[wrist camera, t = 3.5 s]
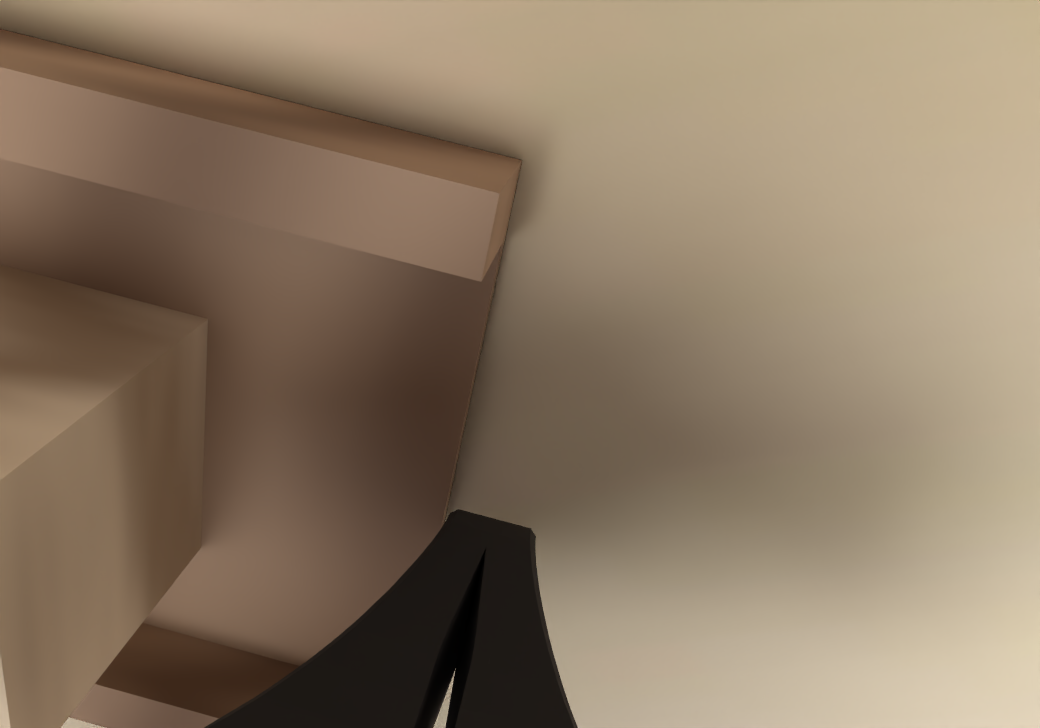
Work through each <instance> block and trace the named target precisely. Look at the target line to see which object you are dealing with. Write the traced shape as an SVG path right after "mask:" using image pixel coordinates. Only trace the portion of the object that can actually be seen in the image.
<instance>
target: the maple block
mask: <svg viewBox="0 0 1040 728" xmlns="http://www.w3.org/2000/svg"><path fill="white" fill-rule="evenodd" d="M207 334H208V319H206V318H202V317H198V316H194V315H191V314H187V313H183V312H179V311H175V310H171V309H168V308H164V307H160V306H156V305H152V304H148V303H145V302H141V301H137V300H133V299H129V298H126V297H122V296H118V295H114V294H110V293H106V292H103V291H99V290H95V289H91V288H87V287H83V286H80V285H76V284H72V283H68V282H64V281H60V280H57V279H53V278H49V277H45V276H41V275H38V274H34V273H30V272H26V271H22V270H18V269H15V268H11V267H7V266H3V265H0V728H61V726H62V725H63V724H64V722H65V721H66V720H67V719H68V717H69V716H70V715H71V714H72V712H73V711H74V710H75V708H76V707H77V706H78V705H79V703H80V702H81V701H82V699H83V698H84V697H85V696H86V694H87V693H88V692H89V690H90V689H91V688H92V687H93V685H94V684H95V683H96V682H97V680H98V679H99V678H100V676H101V675H102V674H103V673H104V671H105V670H106V669H107V667H108V666H109V665H110V664H111V662H112V661H113V660H114V658H115V657H116V656H117V655H118V653H119V652H120V651H121V650H122V648H123V647H124V646H125V644H126V643H127V642H128V641H129V639H130V638H131V637H132V635H133V634H134V633H135V632H136V630H137V629H138V628H139V626H140V625H141V624H142V623H143V621H144V620H145V619H146V618H147V616H148V615H149V614H150V612H151V611H152V610H153V609H154V607H155V606H156V605H157V603H158V602H159V601H160V600H161V598H162V597H163V596H164V594H165V593H166V592H167V591H168V589H169V588H170V587H171V586H172V584H173V583H174V582H175V580H176V579H177V578H178V577H179V575H180V574H181V573H182V571H183V570H184V569H185V568H186V566H187V565H188V564H189V563H190V561H191V560H192V559H193V557H194V556H195V555H196V554H197V552H198V551H199V550H200V548H201V530H202V497H203V464H204V432H205V399H206V367H207Z"/></svg>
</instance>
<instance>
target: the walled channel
mask: <svg viewBox="0 0 1040 728" xmlns="http://www.w3.org/2000/svg"><path fill="white" fill-rule="evenodd" d="M521 163H522V160H519V159H515V158H511V157H507V156H503V155H499V154H495V153H491V152H487V151H483V150H479V149H475V148H471V147H467V146H463V145H459V144H455V143H452V142H448V141H444V140H440V139H436V138H432V137H428V136H424V135H420V134H416V133H412V132H408V131H404V130H400V129H396V128H392V127H388V126H384V125H380V124H376V123H372V122H368V121H364V120H360V119H356V118H352V117H348V116H344V115H340V114H336V113H332V112H328V111H324V110H320V109H316V108H312V107H308V106H304V105H300V104H296V103H292V102H289V101H285V100H281V99H277V98H273V97H269V96H265V95H261V94H257V93H253V92H249V91H245V90H241V89H237V88H233V87H229V86H225V85H221V84H217V83H213V82H209V81H205V80H201V79H197V78H193V77H189V76H185V75H181V74H177V73H173V72H169V71H165V70H161V69H157V68H153V67H149V66H145V65H141V64H137V63H133V62H130V61H126V60H122V59H118V58H114V57H110V56H106V55H102V54H98V53H94V52H90V51H86V50H82V49H78V48H74V47H70V46H66V45H62V44H58V43H54V42H50V41H46V40H42V39H38V38H34V37H30V36H26V35H22V34H18V33H14V32H10V31H6V30H2V29H0V265H3V266H7V267H11V268H15V269H18V270H22V271H26V272H30V273H34V274H38V275H41V276H45V277H49V278H53V279H57V280H60V281H64V282H68V283H72V284H76V285H80V286H83V287H87V288H91V289H95V290H99V291H103V292H106V293H110V294H114V295H118V296H122V297H126V298H129V299H133V300H137V301H141V302H145V303H148V304H152V305H156V306H160V307H164V308H168V309H171V310H175V311H179V312H183V313H187V314H191V315H194V316H198V317H202V318H206V319H208V334H207V367H206V399H205V432H204V464H203V497H202V530H201V548H200V550H199V551H198V552H197V554H196V555H195V556H194V557H193V559H192V560H191V561H190V563H189V564H188V565H187V566H186V568H185V569H184V570H183V571H182V573H181V574H180V575H179V577H178V578H177V579H176V580H175V582H174V583H173V584H172V586H171V587H170V588H169V589H168V591H167V592H166V593H165V594H164V596H163V597H162V598H161V600H160V601H159V602H158V603H157V605H156V606H155V607H154V609H153V610H152V611H151V612H150V614H149V615H148V616H147V618H146V619H145V620H144V621H143V623H142V624H141V625H140V626H139V628H138V629H137V630H136V632H135V633H134V634H133V635H132V637H131V638H130V639H129V641H128V642H127V643H126V644H125V646H124V647H123V648H122V650H121V651H120V652H119V653H118V655H117V656H116V657H115V658H114V660H113V661H112V662H111V664H110V665H109V666H108V667H107V669H106V670H105V671H104V673H103V674H102V675H101V676H100V678H99V679H98V680H97V682H96V683H95V684H94V685H93V687H92V688H91V689H90V690H89V692H88V693H87V694H86V696H85V697H84V698H83V699H82V701H81V702H80V703H79V705H78V706H77V707H76V708H75V710H74V711H73V712H72V714H71V715H70V716H69V717H71V718H74V719H78V720H81V721H85V722H89V723H92V724H96V725H99V726H103V727H106V728H204V727H206V726H207V725H209V724H211V723H212V722H214V721H216V720H217V719H219V718H221V717H222V716H224V715H226V714H227V713H229V712H231V711H232V710H234V709H236V708H237V707H239V706H241V705H242V704H244V703H246V702H248V701H249V700H251V699H253V698H254V697H256V696H257V695H259V694H260V693H262V692H263V691H265V690H266V689H268V688H269V687H271V686H272V685H274V684H275V683H277V682H278V681H280V680H281V679H282V678H284V677H285V676H287V675H288V674H289V673H291V672H292V671H294V670H295V669H296V668H298V667H299V666H300V665H302V664H303V663H305V662H306V661H307V660H309V659H310V658H311V657H313V656H314V655H315V654H317V653H318V652H319V651H320V650H322V649H323V648H324V647H325V646H327V645H328V644H329V643H330V642H332V641H333V640H334V639H335V638H337V637H338V636H339V635H340V634H341V633H343V632H344V631H345V630H346V629H347V628H348V627H349V626H351V625H352V624H353V623H354V622H355V621H356V620H357V619H358V618H360V617H361V616H362V615H363V614H364V613H365V612H366V611H367V610H368V609H369V608H370V607H371V606H372V605H373V604H374V603H375V602H376V601H377V600H379V599H380V598H381V597H382V596H383V595H384V594H385V593H386V592H387V591H388V590H389V589H390V588H391V587H392V586H393V585H394V584H395V583H396V582H397V580H398V579H399V578H400V577H401V576H402V575H403V574H404V573H405V572H406V571H407V570H408V568H409V567H410V566H411V565H412V564H413V563H414V562H415V561H416V560H417V559H418V557H419V556H420V555H421V554H422V553H423V551H424V550H425V549H426V548H427V546H428V545H429V544H430V543H431V541H432V540H433V539H434V538H435V536H436V535H437V534H438V532H439V531H440V529H441V528H442V526H443V525H444V521H445V517H446V512H447V507H448V503H449V498H450V493H451V489H452V484H453V479H454V475H455V470H456V465H457V461H458V456H459V451H460V447H461V442H462V437H463V433H464V428H465V423H466V419H467V414H468V409H469V405H470V400H471V395H472V391H473V386H474V382H475V377H476V372H477V368H478V363H479V358H480V354H481V349H482V344H483V340H484V335H485V330H486V326H487V321H488V316H489V312H490V307H491V302H492V298H493V293H494V288H495V284H496V279H497V274H498V270H499V265H500V260H501V256H502V251H503V246H504V242H505V237H506V232H507V228H508V223H509V219H510V214H511V209H512V205H513V200H514V195H515V191H516V186H517V181H518V177H519V172H520V167H521Z"/></svg>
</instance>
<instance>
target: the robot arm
mask: <svg viewBox="0 0 1040 728" xmlns="http://www.w3.org/2000/svg"><path fill="white" fill-rule="evenodd" d="M535 538H536V536H535V534H534V533H533V531H532V530H531V529H530V528H526V527H523V526H519V525H515V524H512V523H508V522H504V521H500V520H497V519H493V518H489V517H485V516H482V515H478V514H474V513H470V512H467V511H463V510H459V509H458V510H456V511H454V512H452V513H450V515H449V517H448V518H447V520H446V522H445V523H444V525H443V526H442V528H441V529H440V531H439V532H438V534H437V535H436V536H435V538H434V539H433V540H432V541H431V543H430V544H429V545H428V546H427V548H426V549H425V550H424V551H423V553H422V554H421V555H420V556H419V557H418V559H417V560H416V561H415V562H414V563H413V564H412V565H411V566H410V567H409V568H408V570H407V571H406V572H405V573H404V574H403V575H402V576H401V577H400V578H399V579H398V580H397V582H396V583H395V584H394V585H393V586H392V587H391V588H390V589H389V590H388V591H387V592H386V593H385V594H384V595H383V596H382V597H381V598H380V599H379V600H377V601H376V602H375V603H374V604H373V605H372V606H371V607H370V608H369V609H368V610H367V611H366V612H365V613H364V614H363V615H362V616H361V617H360V618H358V619H357V620H356V621H355V622H354V623H353V624H352V625H351V626H349V627H348V628H347V629H346V630H345V631H344V632H343V633H341V634H340V635H339V636H338V637H337V638H335V639H334V640H333V641H332V642H330V643H329V644H328V645H327V646H325V647H324V648H323V649H322V650H320V651H319V652H318V653H317V654H315V655H314V656H313V657H311V658H310V659H309V660H307V661H306V662H305V663H303V664H302V665H300V666H299V667H298V668H296V669H295V670H294V671H292V672H291V673H289V674H288V675H287V676H285V677H284V678H282V679H281V680H280V681H278V682H277V683H275V684H274V685H272V686H271V687H269V688H268V689H266V690H265V691H263V692H262V693H260V694H259V695H257V696H256V697H254V698H253V699H251V700H249V701H248V702H246V703H244V704H242V705H241V706H239V707H237V708H236V709H234V710H232V711H231V712H229V713H227V714H226V715H224V716H222V717H221V718H219V719H217V720H216V721H214V722H212V723H211V724H209V725H207V726H206V727H204V728H433V727H434V724H435V721H436V719H437V716H438V713H439V711H440V708H441V706H442V703H443V700H444V698H445V695H446V692H447V690H448V687H449V684H450V682H451V679H452V676H453V674H454V671H455V676H454V682H453V687H452V693H451V699H450V705H449V711H448V717H447V723H446V728H577V725H576V722H575V720H574V717H573V714H572V712H571V709H570V706H569V703H568V700H567V697H566V694H565V691H564V688H563V685H562V682H561V679H560V675H559V672H558V668H557V665H556V662H555V658H554V655H553V651H552V647H551V643H550V639H549V635H548V630H547V626H546V621H545V617H544V612H543V607H542V602H541V597H540V591H539V584H538V577H537V568H536V556H535ZM455 668H456V670H455Z"/></svg>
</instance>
